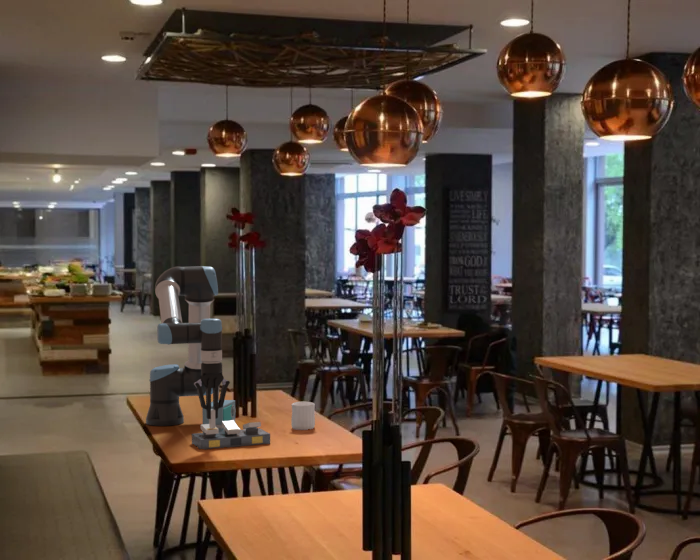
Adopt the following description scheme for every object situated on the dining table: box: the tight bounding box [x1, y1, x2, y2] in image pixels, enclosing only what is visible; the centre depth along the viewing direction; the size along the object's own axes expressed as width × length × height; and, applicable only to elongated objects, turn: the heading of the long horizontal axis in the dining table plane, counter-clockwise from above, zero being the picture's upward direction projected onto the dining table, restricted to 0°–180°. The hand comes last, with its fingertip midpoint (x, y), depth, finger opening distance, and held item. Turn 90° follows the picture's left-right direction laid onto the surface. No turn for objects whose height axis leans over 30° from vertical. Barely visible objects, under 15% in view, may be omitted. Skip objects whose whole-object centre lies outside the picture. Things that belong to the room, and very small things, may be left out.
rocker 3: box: [242, 421, 262, 430], centre depth 370 cm, size 8×4×2 cm, turn 24°
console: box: [191, 427, 271, 450], centre depth 367 cm, size 12×26×5 cm, turn 114°
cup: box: [291, 401, 316, 431], centre depth 397 cm, size 10×10×10 cm
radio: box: [201, 386, 237, 432], centre depth 386 cm, size 16×9×20 cm, turn 168°
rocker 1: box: [200, 423, 219, 434], centre depth 364 cm, size 8×4×2 cm, turn 24°
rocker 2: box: [222, 420, 241, 434], centre depth 367 cm, size 8×4×2 cm, turn 24°
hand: (212, 427), depth 360 cm, fingers closed
